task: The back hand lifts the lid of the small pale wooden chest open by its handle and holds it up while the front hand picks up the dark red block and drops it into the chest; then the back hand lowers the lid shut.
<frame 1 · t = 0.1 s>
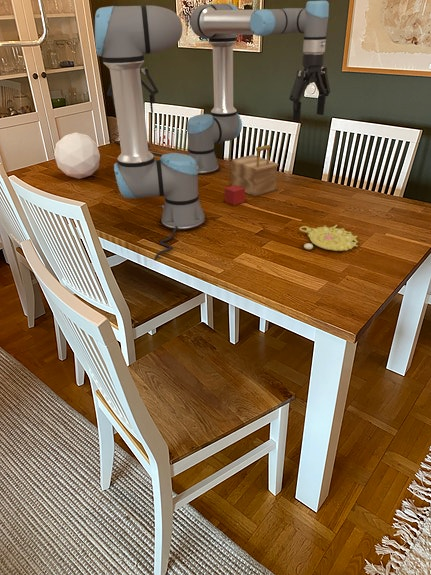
front hand: (135, 113, 181), 28 cm above the table, tool pointing down, fingers open, 13 cm apart
back hand: (308, 117, 165), 28 cm above the table, tool pointing down, fingers open, 13 cm apart
sphere: (81, 176, 201), on the table
chest: (253, 187, 183), on the table
athletic shoe: (136, 150, 236), on the table
block: (234, 201, 171), on the table
lid: (254, 153, 175), point 14 cm above the table, hinge at -0.1°
decorative object: (328, 239, 142), on the table
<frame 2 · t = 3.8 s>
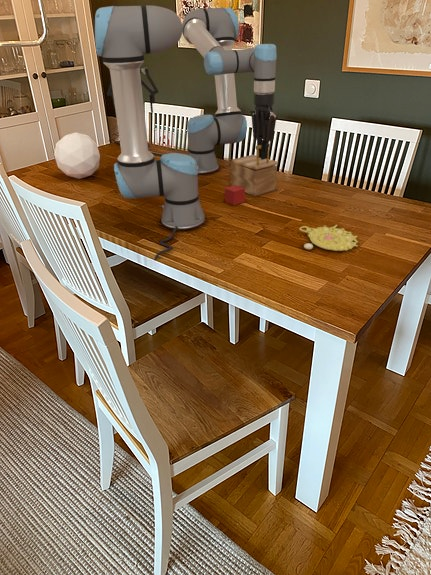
front hand: (135, 113, 181), 28 cm above the table, tool pointing down, fingers open, 13 cm apart
back hand: (262, 158, 172), 14 cm above the table, tool pointing down, fingers closed on lid, 1 cm apart
lid: (254, 152, 175), point 14 cm above the table, hinge at 2.5°, touching back hand
everything else where it was.
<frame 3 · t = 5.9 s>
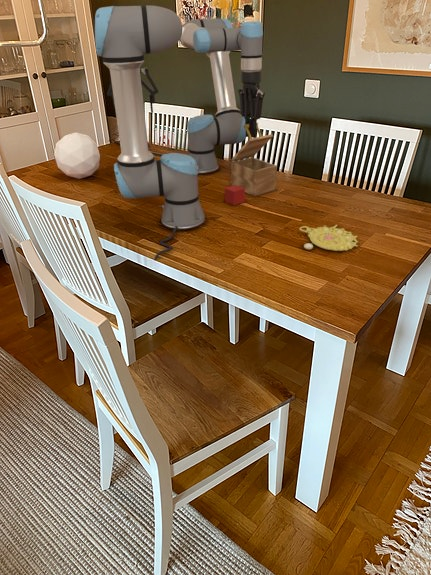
front hand: (135, 113, 181), 28 cm above the table, tool pointing down, fingers open, 13 cm apart
back hand: (250, 136, 174), 20 cm above the table, tool pointing down, fingers closed on lid, 1 cm apart
lid: (247, 140, 176), point 19 cm above the table, hinge at 41.3°, touching back hand
everything else where it was.
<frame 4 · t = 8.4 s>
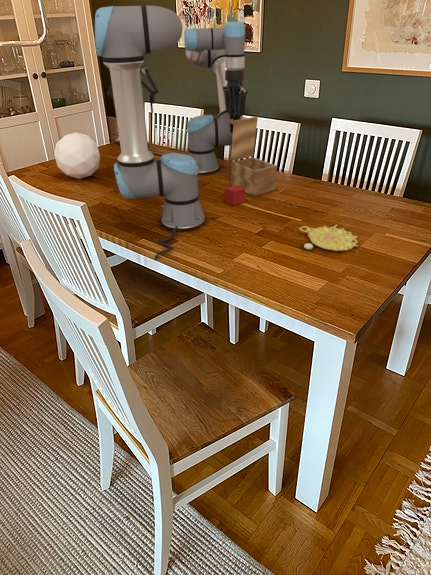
front hand: (135, 113, 181), 28 cm above the table, tool pointing down, fingers open, 13 cm apart
back hand: (235, 132, 181), 20 cm above the table, tool pointing down, fingers closed on lid, 1 cm apart
lid: (238, 136, 180), point 19 cm above the table, hinge at 82.0°, touching back hand
everything else where it was.
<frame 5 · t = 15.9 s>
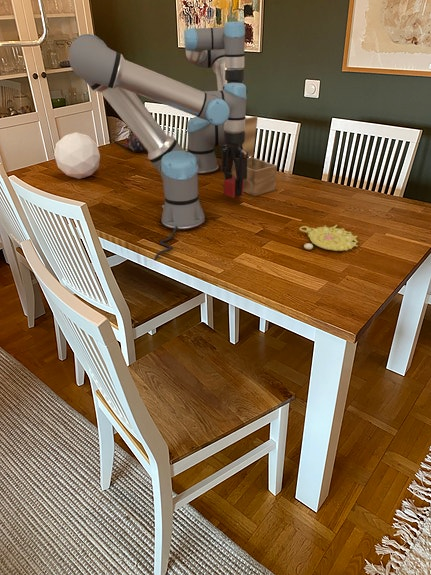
front hand: (233, 193, 169), 3 cm above the table, tool pointing down, fingers closed on block, 6 cm apart
back hand: (234, 132, 181), 20 cm above the table, tool pointing down, fingers closed on lid, 1 cm apart
block: (233, 194, 169), point 3 cm above the table, touching front hand
lid: (238, 136, 180), point 19 cm above the table, hinge at 81.9°, touching back hand
everything else where it was.
when the front hand's fingers open (17 cm above the table, at t = 19.0 s): block drops 15 cm, resting on chest.
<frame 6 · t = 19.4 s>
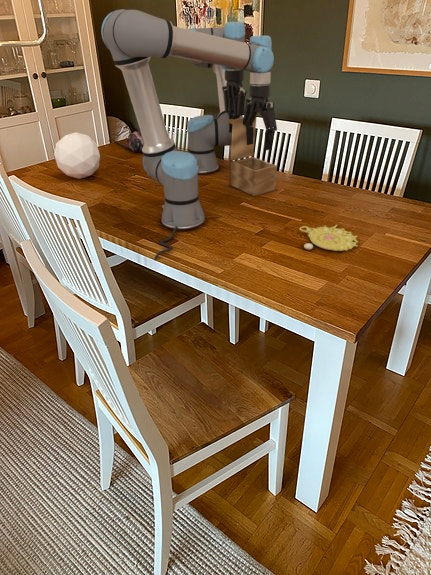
front hand: (258, 147, 172), 17 cm above the table, tool pointing down, fingers open, 10 cm apart
back hand: (233, 132, 182), 20 cm above the table, tool pointing down, fingers closed on lid, 1 cm apart
chest: (253, 187, 183), on the table, touching block
block: (256, 187, 181), point 1 cm above the table, touching chest
lid: (238, 135, 180), point 19 cm above the table, hinge at 85.1°, touching front hand, back hand
everything else where it was.
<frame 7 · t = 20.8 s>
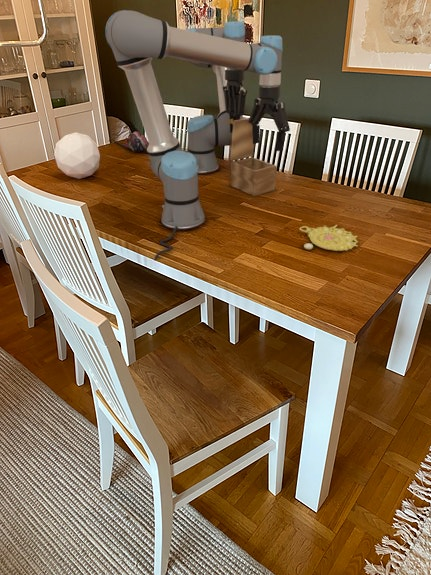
front hand: (267, 146, 168), 18 cm above the table, tool pointing down, fingers open, 13 cm apart
back hand: (234, 132, 181), 20 cm above the table, tool pointing down, fingers closed on lid, 1 cm apart
lid: (238, 136, 180), point 19 cm above the table, hinge at 81.5°, touching back hand
everything else where it was.
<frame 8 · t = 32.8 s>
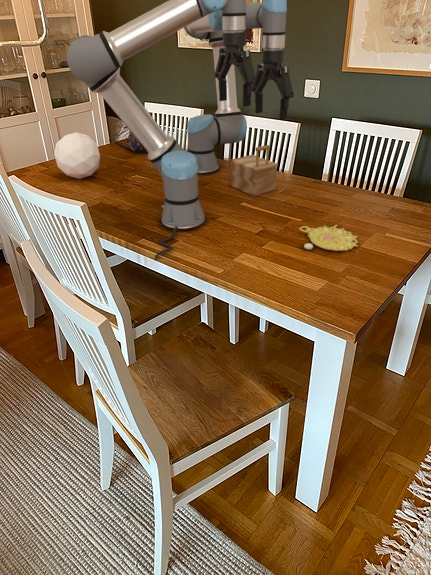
front hand: (234, 103, 152), 36 cm above the table, tool pointing down, fingers open, 13 cm apart
back hand: (270, 115, 161), 30 cm above the table, tool pointing down, fingers open, 13 cm apart
lid: (254, 153, 175), point 14 cm above the table, hinge at -0.1°
everything else where it was.
at the end: block inside the target area in the chest (2.3 cm from its centre), point 0.8 cm above the chest's base; lid at +0° (first picture: +0°); the front hand is holding nothing; the back hand is holding nothing; chest tilted 0°; chest moved 0.2 cm from its start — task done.
